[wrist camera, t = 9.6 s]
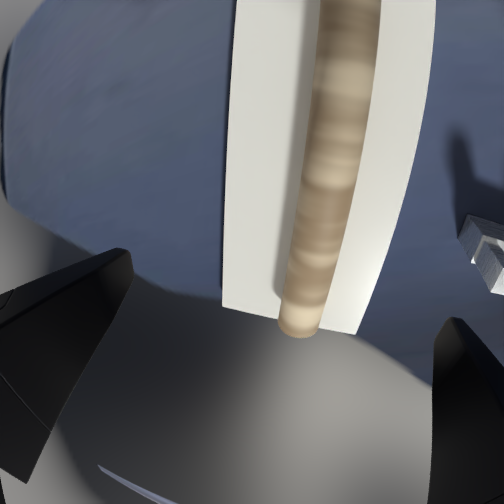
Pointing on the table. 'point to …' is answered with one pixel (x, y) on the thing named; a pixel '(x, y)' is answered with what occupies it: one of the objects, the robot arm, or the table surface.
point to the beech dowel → (330, 156)
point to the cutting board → (293, 145)
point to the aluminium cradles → (485, 249)
